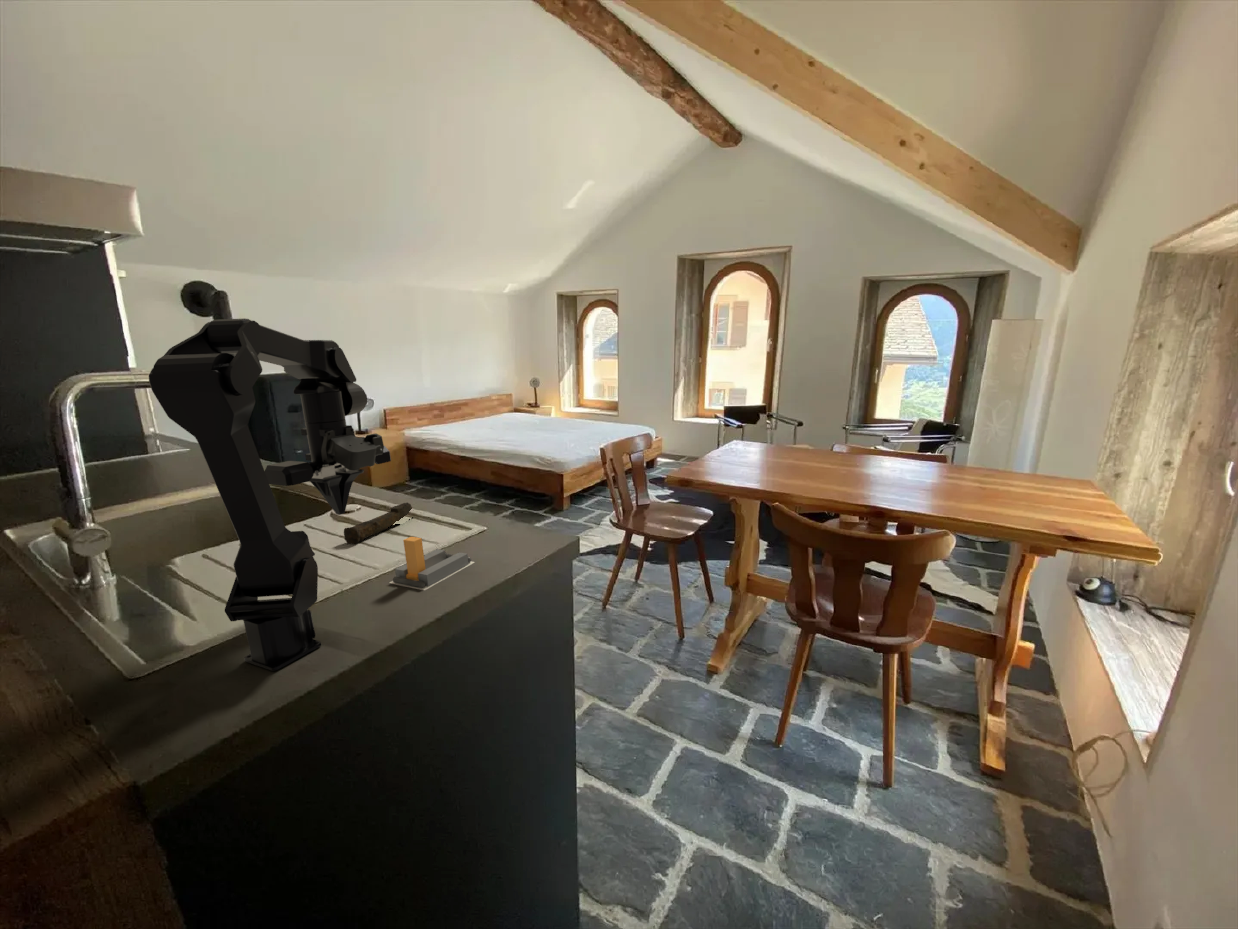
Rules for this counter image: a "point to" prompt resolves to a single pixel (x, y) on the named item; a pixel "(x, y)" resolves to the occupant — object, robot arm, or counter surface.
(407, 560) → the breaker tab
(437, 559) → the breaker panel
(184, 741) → the counter surface
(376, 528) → the dark brown rod
